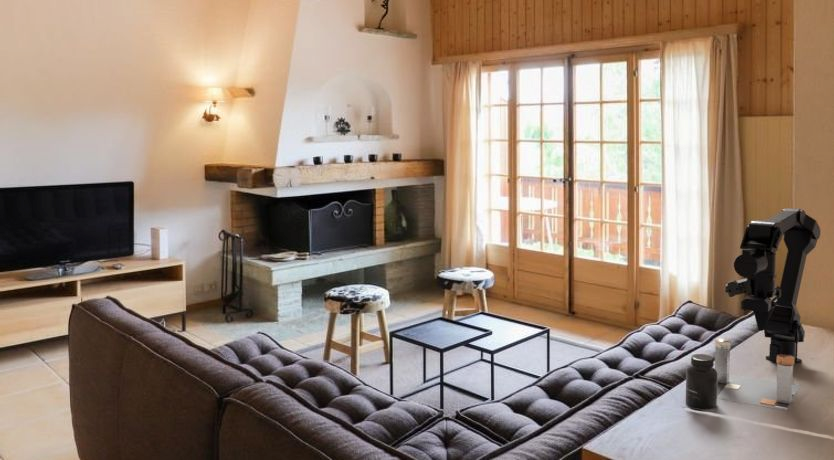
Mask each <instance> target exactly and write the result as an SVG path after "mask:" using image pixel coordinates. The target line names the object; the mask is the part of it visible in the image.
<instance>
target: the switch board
mask: <svg viewBox="0 0 834 460" xmlns="http://www.w3.org/2000/svg"><path fill="white" fill-rule="evenodd" d="M800 387H801V384H800V385H799V384H794V383H792V401H791V403H790V404H787V403H781V402H776V396H777V380H769V379H763V378H756V377H751V376H744V375H738V374H732V373H729V381H728V383H727V384H724V383H717V399H720V400H725V401H732V402H735V403H740V404H741V403H743V404H747V405H753V406H758V407H763V408H769V409H776V410H780V411H784V412H785V411H786V412H788V411H789V409H790V407H791V405H792V404H793V401H794V399H795V397H796V395H797V393H798V391H799V389H800Z"/></svg>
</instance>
